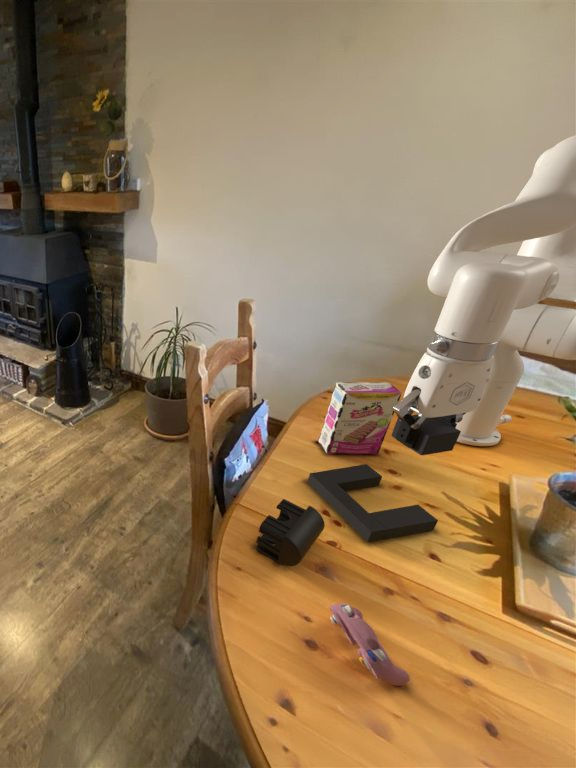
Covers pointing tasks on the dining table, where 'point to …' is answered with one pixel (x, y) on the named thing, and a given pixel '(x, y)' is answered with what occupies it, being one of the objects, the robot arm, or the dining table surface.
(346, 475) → the notch pad
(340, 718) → the dining table surface
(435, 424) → the black square block
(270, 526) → the end cap
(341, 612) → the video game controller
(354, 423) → the candy bar box
